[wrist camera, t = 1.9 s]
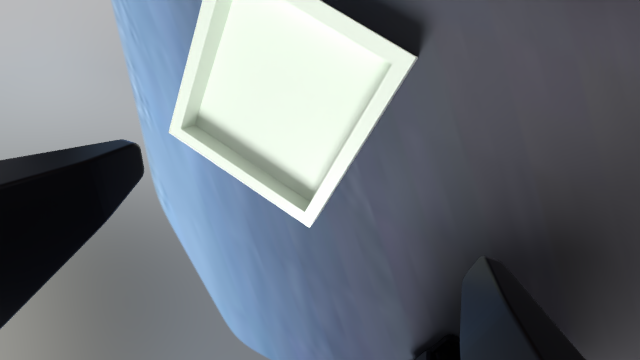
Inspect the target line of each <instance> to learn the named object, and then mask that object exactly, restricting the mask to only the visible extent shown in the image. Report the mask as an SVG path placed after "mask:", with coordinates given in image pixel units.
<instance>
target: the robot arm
mask: <svg viewBox="0 0 640 360" xmlns="http://www.w3.org/2000/svg"><path fill="white" fill-rule="evenodd" d="M143 174H144V165H143V159H142V154H141V149H140V147H139V145H138V144H136V143H134V142H130V141H127V140H115V141H109V142H104V143H98V144H92V145H86V146H80V147H75V148H69V149H63V150H57V151H52V152H46V153H40V154H34V155H28V156H23V157H17V158H11V159H6V160H0V329H1V328H2V327H3V326H4V325H5V324H6V323H7V322H8V321H9V320H10V319H11V318H12V317H13V316H14V315H15V314H16V313H17V312H18V311H19V310H20V309H21V308H22V307H23V306H24V305H25V304H26V303H27V302H28V301H29V300H30V299H31V298H32V296H34V295H35V294H36V292H38V291H39V290H40V289H41V288H42V286H43V285H44V284H45V283H46V282H47V281H48V280H49V279H50V278H51V277H52V276H53V275H54V274H55V273H56V272H57V271H58V270H59V269H60V268H61V267H62V266H63V265H64V264H65V263H66V262H67V261H68V260H69V259H70V258H71V257H72V256H73V255H74V254H75V253H76V252H77V251H78V250H79V249H80V248H81V247H82V246H83V245H84V244H85V243H86V242H87V241H88V240H89V239H90V238H91V237H92V236H93V235H94V234H95V233H96V232H97V230H99V229H100V228H101V227H102V225H103V224H104V223H105V222H106V221H107V220H108V219H109V218H110V216H111V215H112V214H113V213H114V212H115V210H116V209H117V208H118V207H119V205H120V204H121V203H122V201H123V200H124V199H125V198H126V197H127V195H128V194H129V193H130V192H131V191H132V189H133V188H134V187H135V185H136V184H137V183H138V182H139V181H140V179H141V178H142V176H143ZM451 342H454V343H451ZM415 360H585V358H584V357H583V356H582V355H581V354H580V353H579V351H578V350H577V349H576V348H575V347H574V346H573V344H572V343H571V342H570V341H569V340H568V339H567V337H566V336H565V335H564V334H563V333H562V332H561V331H560V329H559V328H558V327H557V326H556V325H555V324H554V322H553V321H552V320H551V319H550V318H549V317H548V315H547V314H546V313H545V312H544V311H543V310H542V308H541V307H540V306H539V305H538V304H537V303H536V301H535V300H534V299H533V298H532V297H531V296H530V295H529V293H528V292H527V291H526V290H525V289H524V288H523V286H522V285H521V284H520V283H519V282H518V281H517V279H516V278H515V277H514V276H513V275H512V274H511V272H510V271H509V270H508V269H507V268H506V267H505V265H504V264H503V263H502V262H501V261H499V260H496V259H493V258H490V257H487V256H481V257H479V258H478V259H477V261H476V262H475V263H474V265H473V266H472V267H471V268H470V270H469V271H468V272H467V274H466V275H465V277H464V279H463V282H462V299H461V325H460V338H458V337H457V336H455V335H447V336H445V337H444V338H443V339H442V340H441V341H439V342H438V343H437V344H436V345H434V346H433V347H432V348H431V349H430V350H427V351H425V352H424V353H422V354H421V355H420V356H419V357H418V358H416V359H415Z"/></svg>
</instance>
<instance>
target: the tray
mask: <svg viewBox="0 0 640 360" xmlns="http://www.w3.org/2000/svg"><path fill="white" fill-rule="evenodd" d="M417 59H418V57H417V56H415V55H413V54H412V53H410V52H408V51H407V50H405V49H403V48H401V47H400V46H398V45H396V44H395V43H393V42H391V41H390V40H388V39H386V38H384V37H383V36H381V35H379V34H378V33H376V32H374V31H373V30H371V29H369V28H367V27H366V26H364V25H362V24H361V23H359V22H357V21H356V20H354V19H352V18H350V17H349V16H347V15H345V14H344V13H342V12H340V11H339V10H337V9H335V8H333V7H332V6H330V5H328V4H327V3H325V2H323V1H322V0H203V1H202V5H201V9H200V13H199V17H198V21H197V25H196V28H195V32H194V36H193V40H192V44H191V48H190V52H189V56H188V59H187V63H186V67H185V71H184V75H183V79H182V83H181V86H180V90H179V94H178V98H177V102H176V106H175V110H174V114H173V117H172V121H171V125H170V129H169V133H170V134H172V135H173V136H175V137H176V138H178V139H179V140H181V141H182V142H183V143H185V144H186V145H188V146H189V147H191V148H192V149H194V150H195V151H197V152H198V153H200V154H201V155H203V156H204V157H206V158H207V159H209V160H210V161H212V162H213V163H214V164H216V165H217V166H219V167H220V168H222V169H223V170H225V171H226V172H228V173H229V174H231V175H232V176H234V177H235V178H237V179H238V180H240V181H241V182H243V183H244V184H246V185H247V186H248V187H250V188H251V189H253V190H254V191H256V192H257V193H259V194H260V195H262V196H263V197H265V198H266V199H268V200H269V201H271V202H272V203H274V204H275V205H277V206H278V207H279V208H281V209H282V210H284V211H285V212H287V213H288V214H290V215H291V216H293V217H294V218H296V219H297V220H299V221H300V222H302V223H303V224H305V225H306V226H308V227H309V228H310V227H311V225H312V224H313V223H314V221H315V220H316V219H317V217H318V216H319V215H320V213H321V212H322V210H323V208H324V207H325V205H326V204H327V202H328V200H329V199H330V197H331V196H332V194H333V192H334V191H335V189H336V188H337V186H338V185H339V183H340V181H341V180H342V178H343V177H344V175H345V173H346V172H347V170H348V169H349V167H350V165H351V164H352V162H353V161H354V159H355V157H356V156H357V154H358V153H359V151H360V149H361V148H362V146H363V145H364V143H365V142H366V140H367V138H368V137H369V135H370V134H371V132H372V130H373V129H374V127H375V126H376V124H377V122H378V121H379V119H380V118H381V116H382V114H383V113H384V111H385V110H386V108H387V106H388V105H389V103H390V102H391V100H392V99H393V97H394V95H395V94H396V92H397V91H398V89H399V87H400V86H401V84H402V83H403V81H404V79H405V78H406V76H407V75H408V73H409V71H410V70H411V68H412V67H413V65H414V63H415V62H416V60H417Z"/></svg>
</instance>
